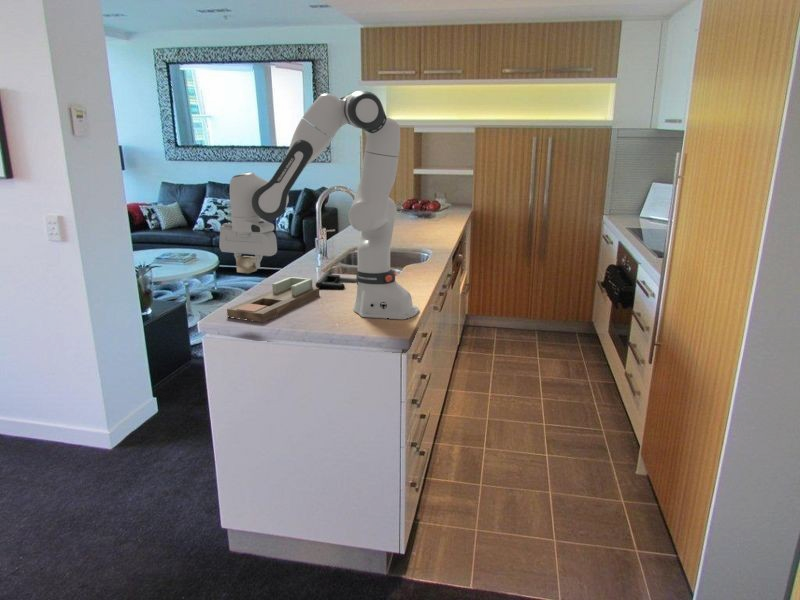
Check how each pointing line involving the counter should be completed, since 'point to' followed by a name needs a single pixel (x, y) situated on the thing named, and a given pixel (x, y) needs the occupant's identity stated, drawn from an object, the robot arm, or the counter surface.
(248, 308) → the tile
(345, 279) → the door handle
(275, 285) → the cubby
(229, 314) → the board
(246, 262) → the cube
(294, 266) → the counter surface
